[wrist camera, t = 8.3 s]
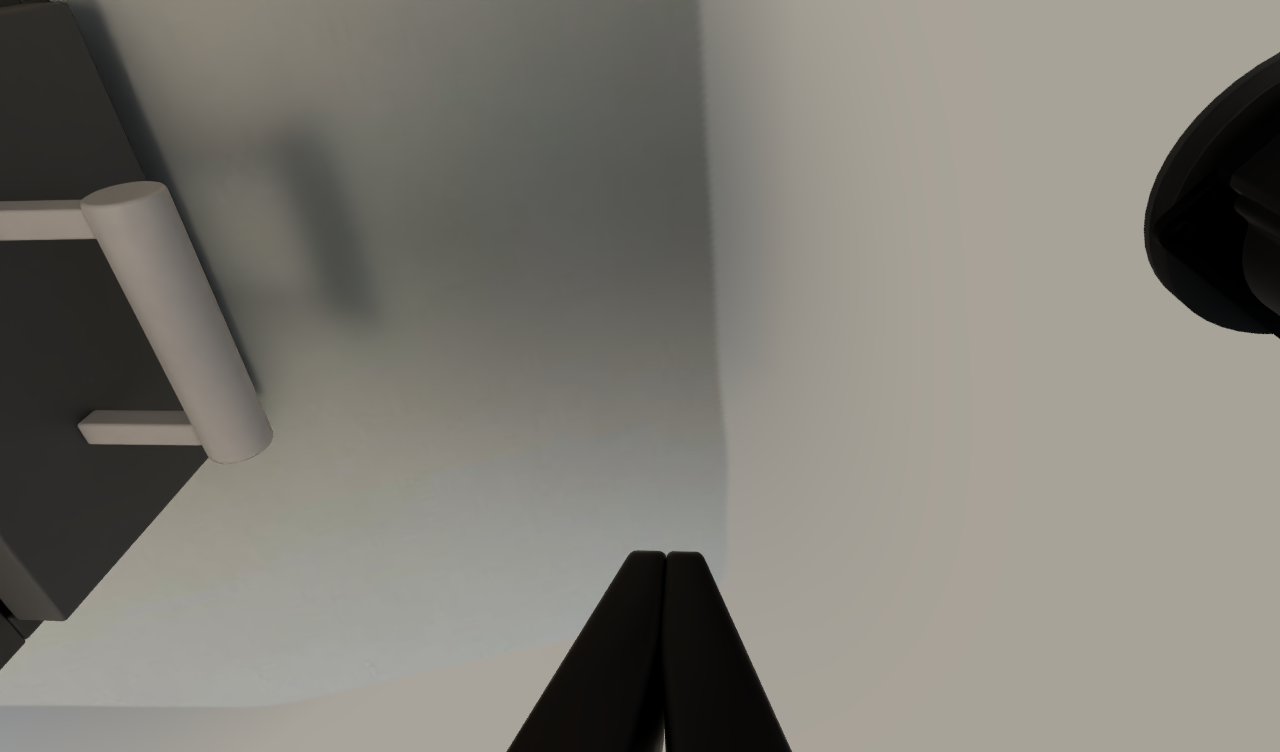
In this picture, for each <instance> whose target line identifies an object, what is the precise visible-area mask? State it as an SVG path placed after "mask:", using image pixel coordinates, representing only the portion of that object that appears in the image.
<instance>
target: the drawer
mask: <svg viewBox="0 0 1280 752" xmlns="http://www.w3.org/2000/svg"><path fill="white" fill-rule="evenodd" d="M272 438H273V431H272V428H271V426H270V424H269V421H268V419H267V417H266V414H265V412H264V410H263V407H262V405H261V403H260V400H259V398H258V396H257V394H256V391H255V389H254V387H253V384H252V382H251V380H250V377H249V375H248V373H247V370H246V368H245V366H244V364H243V361H242V359H241V357H240V354H239V352H238V350H237V347H236V345H235V343H234V340H233V338H232V336H231V334H230V331H229V329H228V327H227V324H226V322H225V320H224V317H223V315H222V313H221V310H220V308H219V306H218V304H217V301H216V299H215V297H214V294H213V292H212V290H211V287H210V285H209V283H208V280H207V278H206V276H205V273H204V271H203V269H202V267H201V264H200V262H199V260H198V257H197V255H196V253H195V250H194V248H193V246H192V243H191V241H190V239H189V237H188V234H187V232H186V230H185V227H184V225H183V223H182V220H181V218H180V216H179V213H178V211H177V209H176V207H175V204H174V202H173V200H172V197H171V195H170V193H169V190H168V188H167V187H166V186H165V185H164V184H163V183H160V182H154V181H146V179H145V176H144V174H143V172H142V170H141V167H140V165H139V163H138V161H137V159H136V156H135V154H134V152H133V150H132V147H131V145H130V143H129V141H128V138H127V136H126V134H125V132H124V129H123V127H122V125H121V123H120V121H119V118H118V116H117V114H116V112H115V109H114V107H113V105H112V103H111V100H110V98H109V96H108V94H107V91H106V89H105V87H104V85H103V83H102V80H101V78H100V76H99V74H98V71H97V69H96V67H95V65H94V62H93V60H92V58H91V56H90V53H89V51H88V49H87V47H86V45H85V42H84V40H83V38H82V36H81V33H80V31H79V29H78V27H77V24H76V22H75V20H74V18H73V15H72V13H71V11H70V9H69V7H68V5H67V4H66V3H64V2H46V3H26V4H15V5H9V6H3V7H0V599H1V600H2V601H3V603H4V604H5V605H6V606H7V607H8V609H9V610H10V611H11V612H12V613H13V614H14V616H15V617H16V618H17V619H20V620H47V621H65V620H66V619H68V618H69V616H70V615H71V614H72V613H73V612H74V611H75V610H76V608H77V607H78V606H79V605H80V604H81V603H82V602H83V600H84V599H85V598H86V597H87V596H88V595H89V594H90V592H91V591H92V590H93V589H94V588H95V587H96V586H97V584H98V583H99V582H100V581H101V580H102V579H103V577H104V576H105V575H106V574H107V573H108V572H109V571H110V569H111V568H112V567H113V566H114V565H115V564H116V563H117V561H118V560H119V559H120V558H121V557H122V556H123V555H124V553H125V552H126V551H127V550H128V549H129V548H130V547H131V545H132V544H133V543H134V542H135V541H136V540H137V539H138V537H139V536H140V535H141V534H142V533H143V532H144V531H145V529H146V528H147V527H148V526H149V525H150V524H151V523H152V521H153V520H154V519H155V518H156V517H157V516H158V515H159V513H160V512H161V511H162V510H163V509H164V508H165V507H166V505H167V504H168V503H169V502H170V501H171V500H172V499H173V497H174V496H175V495H176V494H177V493H178V492H179V490H180V489H181V488H182V487H183V486H184V485H185V484H186V482H187V481H188V480H189V479H190V478H191V477H192V476H193V474H194V473H195V472H196V471H197V470H198V469H199V468H200V466H201V465H202V464H203V463H204V462H205V461H206V460H207V458H208V457H209V458H210V459H211V460H213V461H214V462H217V463H221V464H231V463H237V462H241V461H244V460H247V459H249V458H252V457H254V456H256V455H257V454H259V453H260V452H262V451H263V450H264V449H265V448H267V446H268V445H269V444H270V443H271V441H272Z"/></svg>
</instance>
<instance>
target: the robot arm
mask: <svg viewBox="0 0 1280 752" xmlns="http://www.w3.org/2000/svg"><path fill="white" fill-rule="evenodd" d="M1180 224H1183V227H1182V229H1181V230H1180V231H1179V232H1178V233H1176V234H1175V235H1172V236H1170V232H1171V231H1172V230H1173V228H1174V227H1176V226H1178V225H1180ZM1152 237H1153V239H1154V240H1155V242H1157V243H1158V244H1159V245H1160V246H1162V247H1163V248H1164V249H1166V250H1167V251H1168V252H1169V253H1171V254H1172V255H1173V256H1174V257H1176V258H1177V259H1178V260H1180V261H1181V262H1182V263H1183V264H1185V265H1186V266H1187V267H1189V268H1190V269H1191V270H1192V271H1194V272H1195V273H1196V274H1197V275H1199V276H1200V277H1201V278H1203V279H1204V280H1205V281H1206V282H1208V283H1209V284H1210V285H1211V286H1213V287H1214V288H1215V289H1217V290H1218V291H1219V292H1220V293H1222V294H1223V295H1224V296H1225V297H1227V298H1228V299H1229V300H1231V301H1232V302H1233V303H1234V304H1236V305H1237V306H1238V307H1240V308H1241V309H1242V310H1243V311H1245V312H1246V313H1247V314H1248V315H1250V316H1251V317H1252V318H1254V319H1255V320H1256V321H1257V322H1259V323H1260V324H1261V325H1262V326H1264V327H1265V328H1266V329H1268V330H1269V331H1270V332H1271V333H1273V334H1274V335H1275V336H1276V337H1278V338H1279V339H1280V112H1278V113H1277V114H1276V115H1275V116H1274V117H1273V118H1272V119H1270V120H1269V121H1268V122H1267V123H1266V124H1265V125H1264V126H1262V127H1261V128H1260V129H1259V130H1258V131H1257V132H1256V133H1254V134H1253V135H1252V136H1251V137H1250V138H1249V139H1248V140H1246V141H1245V142H1244V143H1243V144H1242V145H1241V146H1240V147H1238V148H1237V149H1236V150H1235V151H1234V152H1233V153H1232V154H1230V155H1229V156H1228V157H1227V158H1226V159H1225V160H1224V161H1222V162H1221V163H1220V164H1219V166H1218V167H1217V168H1215V169H1214V170H1213V171H1212V172H1211V173H1210V174H1209V175H1207V176H1206V177H1205V178H1204V179H1203V180H1202V181H1200V182H1199V183H1198V184H1197V185H1196V186H1195V187H1194V188H1192V189H1191V190H1190V191H1189V192H1188V193H1187V194H1186V195H1184V196H1183V197H1182V198H1181V199H1180V200H1179V201H1178V202H1176V203H1175V204H1174V205H1173V206H1172V207H1171V208H1170V209H1168V210H1167V211H1166V212H1165V213H1164V214H1163V215H1162V216H1160V217H1159V219H1158V220H1157V221H1156V222H1155V223H1154V225H1153V228H1152ZM664 729H665V746H666V752H792V751H791V749H790V746H789V744H788V742H787V740H786V738H785V735H784V733H783V731H782V729H781V727H780V724H779V722H778V720H777V718H776V715H775V713H774V711H773V709H772V707H771V704H770V702H769V700H768V698H767V696H766V693H765V691H764V689H763V687H762V685H761V682H760V680H759V678H758V676H757V673H756V671H755V669H754V667H753V665H752V662H751V660H750V658H749V656H748V654H747V651H746V649H745V647H744V645H743V643H742V640H741V638H740V636H739V634H738V631H737V629H736V627H735V625H734V623H733V620H732V618H731V616H730V614H729V612H728V609H727V607H726V605H725V603H724V601H723V598H722V596H721V594H720V592H719V590H718V587H717V585H716V583H715V581H714V578H713V576H712V574H711V572H710V570H709V567H708V565H707V563H706V561H705V559H704V557H703V556H702V554H700V553H699V552H681V551H672V552H670V553H668V555H667V558H666V555H665V554H664V553H663V552H661V551H639V550H637V551H633V552H631V553H630V554H629V555H628V557H627V558H626V560H625V561H624V563H623V565H622V566H621V568H620V569H619V571H618V573H617V574H616V576H615V578H614V579H613V581H612V582H611V584H610V586H609V587H608V589H607V590H606V592H605V594H604V595H603V597H602V599H601V600H600V602H599V603H598V605H597V607H596V608H595V610H594V611H593V613H592V615H591V616H590V618H589V620H588V621H587V623H586V624H585V626H584V628H583V629H582V631H581V632H580V634H579V636H578V637H577V639H576V640H575V642H574V644H573V645H572V647H571V649H570V650H569V652H568V653H567V655H566V657H565V658H564V660H563V661H562V663H561V665H560V666H559V668H558V670H557V671H556V673H555V675H554V676H553V678H552V679H551V681H550V682H549V684H548V686H547V687H546V689H545V691H544V692H543V694H542V695H541V697H540V699H539V700H538V702H537V703H536V705H535V707H534V708H533V710H532V712H531V713H530V715H529V717H528V718H527V720H526V721H525V723H524V724H523V726H522V728H521V730H520V731H519V732H518V734H517V736H516V737H515V739H514V741H513V742H512V744H511V746H510V747H509V749H508V750H507V752H662V751H663V742H664Z"/></svg>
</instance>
